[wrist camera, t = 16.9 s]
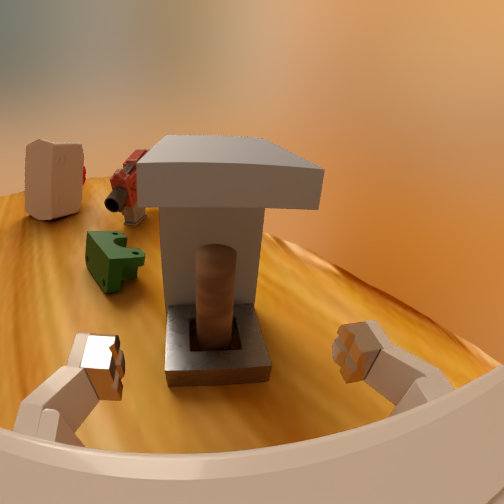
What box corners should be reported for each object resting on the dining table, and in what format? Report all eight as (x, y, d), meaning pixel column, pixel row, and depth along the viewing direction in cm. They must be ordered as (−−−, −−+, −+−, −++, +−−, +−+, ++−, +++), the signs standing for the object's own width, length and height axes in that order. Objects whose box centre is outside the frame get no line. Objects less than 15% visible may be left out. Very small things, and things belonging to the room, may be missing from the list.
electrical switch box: (95, 213, 70) (99, 137, 64) (51, 225, 56) (53, 137, 50) (65, 206, 74) (68, 138, 68) (25, 215, 60) (26, 140, 54)
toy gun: (115, 244, 58) (97, 184, 47) (148, 189, 72) (140, 137, 61) (131, 246, 58) (114, 185, 47) (162, 190, 72) (155, 137, 61)
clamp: (136, 305, 43) (153, 266, 39) (101, 310, 39) (113, 269, 34) (113, 250, 48) (127, 210, 44) (82, 252, 44) (92, 209, 40)
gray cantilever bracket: (162, 411, 23) (127, 163, 14) (167, 306, 37) (161, 135, 27) (280, 403, 25) (332, 170, 16) (250, 304, 39) (267, 138, 30)
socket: (167, 386, 26) (164, 370, 25) (169, 321, 35) (168, 305, 33) (268, 381, 28) (271, 365, 27) (250, 319, 37) (252, 303, 35)
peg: (198, 363, 29) (195, 263, 24) (197, 339, 32) (195, 243, 27) (232, 361, 30) (239, 262, 24) (228, 338, 33) (234, 243, 28)
